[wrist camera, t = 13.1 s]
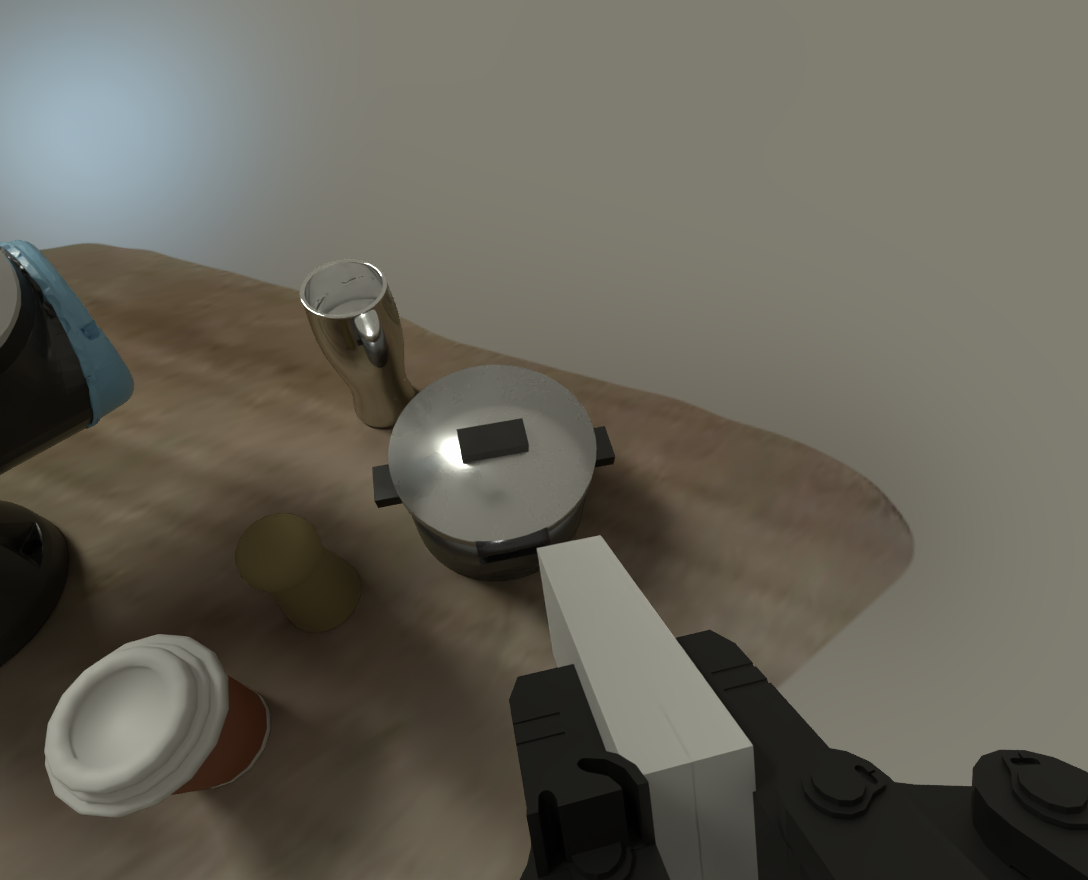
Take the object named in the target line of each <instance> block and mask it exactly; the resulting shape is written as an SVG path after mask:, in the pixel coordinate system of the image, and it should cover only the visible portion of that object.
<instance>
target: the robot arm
mask: <svg viewBox="0 0 1088 880" xmlns="http://www.w3.org/2000/svg"><path fill="white" fill-rule="evenodd" d="M133 391H134V381H133V378H132V375H131V373H130V371H129V369H128V368H127V366H126V365H125V363H124V361H123V360H122V358H121V357H120V355H119V354H118V352H117V351H116V349H115V348H114V346H113V345H112V343H111V342H110V341H109V339H108V338H107V337H106V335H105V334H104V333H103V331H102V330H101V329H100V328H99V327H97V325H96V322H95V321H94V319H93V318H92V317H91V315H90V314H89V312H88V310H87V309H86V307H85V306H84V305H83V303H82V302H81V301H80V299H79V298H78V297H77V296H76V294H75V293H74V292H73V290H72V289H71V288H70V286H69V285H68V284H67V283H66V281H65V280H64V279H63V278H62V276H61V275H60V274H59V273H58V271H57V270H56V269H55V268H54V267H53V265H52V264H51V263H50V262H49V261H48V260H47V258H46V257H45V256H44V255H43V254H42V253H41V252H40V251H39V250H38V249H37V248H36V247H35V246H34V245H32V244H31V243H29V242H26V241H21V240H15V241H11V242H2V241H1V242H0V475H1V474H3V473H4V472H6V471H8V470H10V469H11V468H13V467H15V466H17V465H19V464H21V463H22V462H24V461H26V460H28V459H30V458H32V457H33V456H35V455H37V454H39V453H41V452H43V451H45V450H46V449H48V448H50V447H52V446H54V445H56V444H57V443H59V442H61V441H63V440H65V439H67V438H68V437H70V436H72V435H74V434H76V433H78V432H79V431H81V430H83V429H85V428H90V427H92V426H94V425H96V424H97V423H98V422H99V421H100V418H102V417H103V416H105V415H106V414H108V413H110V412H111V411H113V410H114V409H116V408H118V407H119V406H121V405H122V404H124V403H125V402H127V401H128V400H129V398H130V397H131V395H132V393H133ZM537 554H538V560H539V566H540V573H541V579H542V586H543V592H544V599H545V605H546V612H547V618H548V625H549V631H550V638H551V644H552V650H553V655H554V659H555V662H556V665H557V668H554V669H550V670H545V671H541V672H537V673H532V674H528V675H524V676H520V677H518V678H517V680H516V683H515V685H514V688H513V691H512V693H511V696H510V699H509V702H510V708H511V714H512V720H513V726H514V733H515V739H516V745H517V751H518V757H519V763H520V769H521V775H522V781H523V787H524V793H525V799H526V805H527V821H528V826H529V832H530V837H531V850H530V855H529V859H528V863H527V866H526V868H525V870H524V872H523V874H522V876H521V878H520V880H1088V773H1087V772H1086V771H1084V770H1081V769H1079V768H1077V767H1074V766H1072V765H1070V764H1068V763H1066V762H1063V761H1061V760H1059V759H1056V758H1054V757H1050V756H1046V755H1042V754H1038V753H1034V752H1029V751H1026V750H998V751H995V752H992V753H989V754H986V755H983V756H981V758H980V759H979V760H978V762H977V763H976V764H975V766H974V767H973V776H972V786H943V785H913V784H905V783H897V782H894V781H893V780H892V779H891V778H890V777H889V776H887V775H886V774H885V773H883V772H882V771H881V770H880V769H878V768H877V767H876V766H874V765H873V764H872V763H871V762H869V761H867V760H865V759H863V758H860V757H858V756H856V755H854V754H851V753H849V752H847V751H842V750H837V749H831V748H829V747H828V746H827V745H826V744H825V742H824V741H823V740H822V739H821V738H820V737H819V736H818V735H817V734H816V733H815V731H814V730H813V729H812V728H811V727H810V726H809V725H808V724H807V723H806V721H805V720H804V719H803V718H802V717H801V716H800V715H799V714H798V713H797V711H796V710H795V709H794V708H793V707H792V706H791V705H790V704H789V703H788V702H787V700H786V699H785V698H784V697H783V696H782V695H781V694H780V693H779V692H778V690H777V689H776V688H775V687H774V686H773V685H772V684H771V683H768V681H767V678H766V677H765V676H764V675H763V674H762V673H761V671H760V670H759V669H758V668H757V667H756V666H755V667H754V666H753V663H752V661H751V660H750V659H749V658H748V657H747V656H746V655H745V654H744V653H743V651H742V650H741V649H740V648H739V647H738V646H737V645H736V644H735V643H734V642H732V641H730V640H728V639H726V638H724V637H722V636H721V635H719V634H717V633H715V632H713V631H711V630H707V631H703V632H698V633H694V634H690V635H686V636H681V637H677V638H675V637H674V636H673V634H672V633H671V632H670V630H669V629H668V628H667V626H666V625H665V623H664V622H663V621H662V619H661V618H660V617H659V615H658V614H657V612H656V611H655V610H654V608H653V607H652V605H651V604H650V603H649V601H648V600H647V599H646V597H645V596H644V594H643V593H642V592H641V590H640V589H639V588H638V586H637V585H636V583H635V582H634V581H633V579H632V578H631V577H630V575H629V574H628V572H627V571H626V570H625V568H624V567H623V565H622V564H621V563H620V561H619V560H618V559H617V557H616V556H615V554H614V553H613V552H612V550H611V549H610V548H609V546H608V545H607V543H606V542H605V541H604V539H603V538H602V537H601V535H599V536H594V537H589V538H584V539H579V540H574V541H569V542H564V543H560V544H555V545H550V546H545V547H540V548H537ZM67 571H68V550H67V546H66V543H65V540H64V538H63V536H62V534H61V533H60V531H59V530H58V529H57V528H56V527H55V526H54V525H53V524H52V523H51V522H50V521H48V520H47V519H45V518H43V517H41V516H40V515H38V514H36V513H34V512H33V511H31V510H29V509H27V508H25V507H23V506H20V505H17V504H14V503H11V502H7V501H1V500H0V666H1V665H2V664H3V663H5V662H6V661H7V660H9V659H10V658H11V657H12V656H13V655H14V654H16V653H17V652H18V651H19V650H20V649H21V648H22V647H23V646H24V645H25V644H26V643H27V642H28V641H29V640H30V639H31V638H32V637H33V636H34V635H35V633H36V632H37V631H38V630H39V629H40V627H41V626H42V625H43V623H44V622H45V621H46V619H47V618H48V616H49V615H50V613H51V612H52V610H53V608H54V606H55V605H56V603H57V601H58V599H59V597H60V594H61V592H62V589H63V587H64V584H65V580H66V576H67Z"/></svg>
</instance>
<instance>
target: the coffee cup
mask: <svg viewBox="0 0 1088 880" xmlns="http://www.w3.org/2000/svg"><path fill="white" fill-rule="evenodd" d="M270 730H271V724H270V710H269V708H268V706H267V704H266V703H265V701H264V699H263V697H262V696H261V695H260V694H258V693H257V692H255V691H253V690H252V689H250V688H249V687H246V686H244V685H243V684H241V683H239V682H238V681H236V680H235V679H233V678H232V677H230V676H228V675H227V674H226V672H225V670H224V668H223V666H222V664H221V663H220V661H219V659H218V657H217V655H216V653H215V652H213V651H212V650H210V649H209V648H207V647H205V646H204V645H202V644H201V643H199V642H197V641H196V640H194V639H192V638H190V637H188V636H177V635H165V634H157V635H153V636H150V637H147V638H143V639H140V640H136V641H133V642H130V643H126V644H124V645H122V646H121V647H119V648H118V649H116V650H115V651H113V652H112V653H110V654H109V655H107V656H105V657H104V658H102V659H101V660H99V661H98V662H96V663H95V664H93V665H92V666H91V667H89V668H87V669H86V670H84V671H83V673H82V674H81V675H80V676H79V677H78V678H77V679H76V680H75V681H74V683H73V684H72V685H71V686H70V687H69V688H68V689H67V690H66V691H65V693H64V694H63V695H62V697H61V699H60V701H59V703H58V705H57V707H56V709H55V711H54V713H53V715H52V717H51V719H50V721H49V723H48V727H47V735H46V742H45V750H44V753H45V756H46V759H45V767H46V770H47V773H48V776H49V779H50V782H51V785H52V788H53V791H54V794H55V795H56V796H57V797H58V798H59V799H61V800H62V801H63V802H65V803H66V804H67V805H69V806H70V807H71V808H72V809H74V810H75V811H76V812H78V813H79V814H82V815H93V816H104V817H123V816H126V815H129V814H132V813H134V812H137V811H140V810H143V809H146V808H149V807H152V806H155V805H158V804H159V803H161V802H162V801H163V800H165V799H166V798H167V797H168V796H170V795H174V794H179V793H185V792H191V791H197V790H203V789H209V788H217V787H220V786H223V785H226V784H229V783H232V782H234V781H236V780H237V779H238V778H239V777H241V776H242V775H243V774H244V773H246V772H247V771H248V770H249V769H251V768H252V767H253V765H254V764H255V762H256V761H257V759H258V758H259V756H260V755H261V754H262V752H263V751H264V749H265V746H266V743H267V740H268V736H269V733H270Z"/></svg>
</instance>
